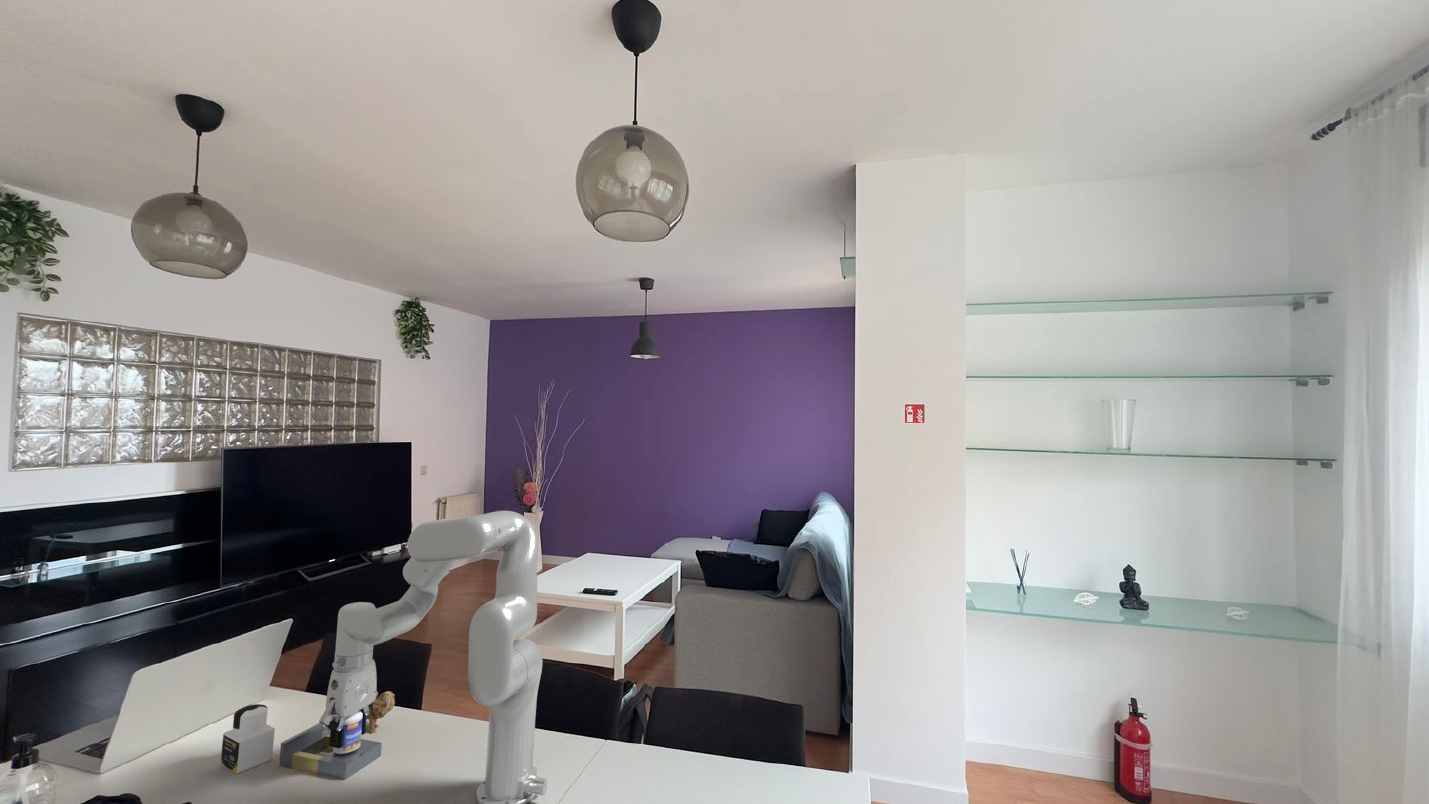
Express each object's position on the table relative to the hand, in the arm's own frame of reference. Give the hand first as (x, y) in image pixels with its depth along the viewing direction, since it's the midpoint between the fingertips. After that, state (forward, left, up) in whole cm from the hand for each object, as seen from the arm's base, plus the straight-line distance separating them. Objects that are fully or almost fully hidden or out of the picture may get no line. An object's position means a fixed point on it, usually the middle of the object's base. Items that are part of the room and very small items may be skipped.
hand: (347, 739), depth 134 cm
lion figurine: (+9, -14, -6) cm, 18 cm away
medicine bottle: (+21, +6, -6) cm, 23 cm away
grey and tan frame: (+4, 0, -5) cm, 7 cm away
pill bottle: (0, 0, -2) cm, 2 cm away
